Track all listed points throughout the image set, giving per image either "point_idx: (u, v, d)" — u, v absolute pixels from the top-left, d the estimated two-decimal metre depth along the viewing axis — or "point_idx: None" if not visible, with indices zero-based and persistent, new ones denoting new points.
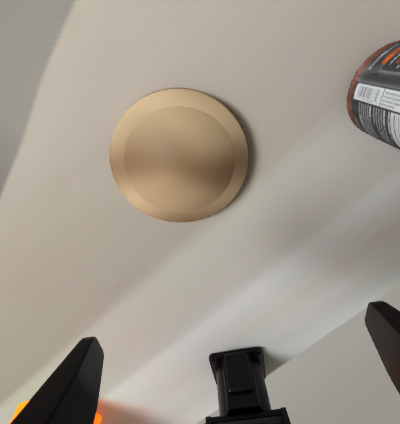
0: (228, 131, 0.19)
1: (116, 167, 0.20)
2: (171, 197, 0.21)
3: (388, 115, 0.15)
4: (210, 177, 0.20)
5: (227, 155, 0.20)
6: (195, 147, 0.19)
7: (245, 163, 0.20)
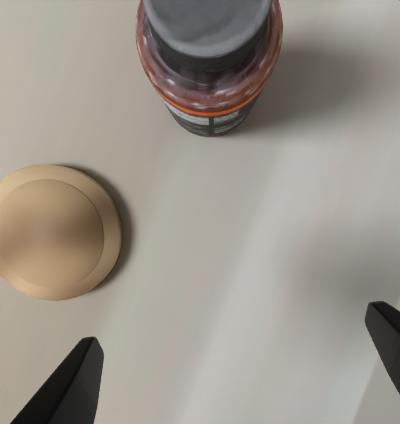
0: (77, 186, 0.19)
1: None
2: (55, 271, 0.20)
3: (163, 101, 0.14)
4: (82, 236, 0.20)
5: (88, 209, 0.19)
6: (56, 213, 0.20)
7: (109, 210, 0.19)
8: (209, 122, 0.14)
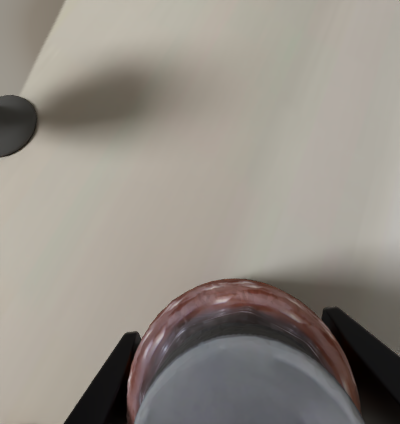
0: None
1: None
2: None
3: None
4: None
5: None
6: None
7: None
8: None
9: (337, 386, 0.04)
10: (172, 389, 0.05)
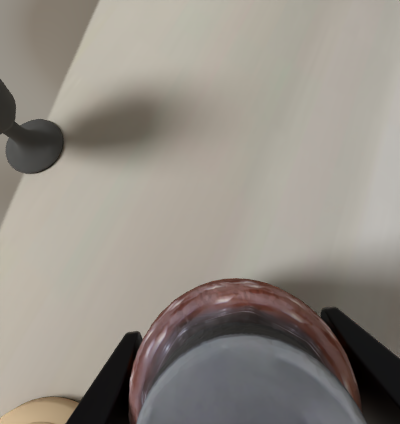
0: None
1: None
2: None
3: None
4: None
5: None
6: None
7: None
8: None
9: (339, 385, 0.04)
10: (174, 389, 0.05)
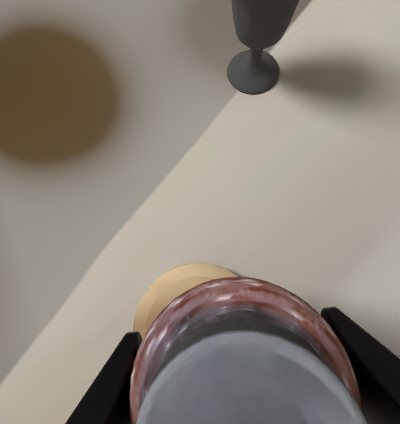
0: None
1: (138, 331, 0.21)
2: None
3: None
4: None
5: None
6: None
7: None
8: None
9: (338, 382, 0.04)
10: (175, 384, 0.05)
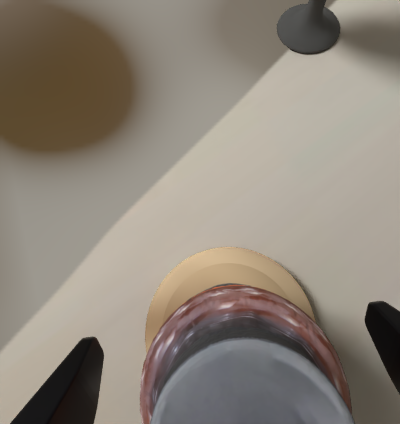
0: (290, 297, 0.16)
1: (152, 326, 0.16)
2: None
3: None
4: None
5: None
6: None
7: None
8: None
9: (327, 382, 0.05)
10: (185, 385, 0.05)
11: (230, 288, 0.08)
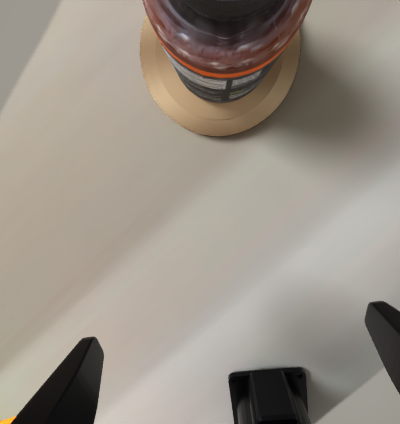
0: None
1: (146, 52, 0.17)
2: None
3: (172, 63, 0.13)
4: None
5: None
6: None
7: (296, 56, 0.17)
8: (226, 86, 0.12)
9: None
10: None
11: None
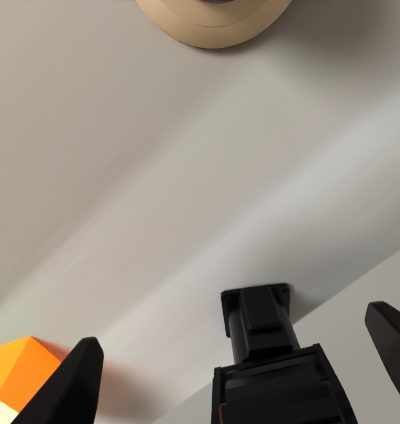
0: None
1: None
2: None
3: None
4: None
5: None
6: None
7: None
8: None
9: None
10: None
11: None
